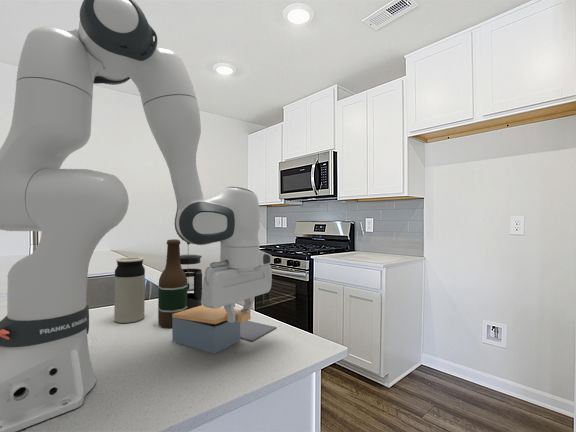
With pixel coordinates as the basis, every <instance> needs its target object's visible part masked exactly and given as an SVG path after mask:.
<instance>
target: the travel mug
mask: <svg viewBox="0 0 576 432" xmlns="http://www.w3.org/2000/svg"><path fill="white" fill-rule="evenodd" d="M144 260H145V258H144V257H140V256H130V257H129V256H125V257H119V258H116V259H115V262H116V265H117V266H116V268H115V270H114V312H113V314H114V319H113V320H114V322H116V323H119V324H131V323H132V324H133V323H136V322H139V321H141V320H143V319H144V318H145V297H146V296H145V292H146V291H145V290H146V289H145V287H146V284H145V279H146V276H145V275H146V269H145V267H144V265H143V264H144V263H143V262H144Z"/></svg>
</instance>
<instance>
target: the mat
mask: <svg viewBox="0 0 576 432" xmlns="http://www.w3.org/2000/svg"><path fill="white" fill-rule="evenodd" d="M276 329H277V326H273V325H270V324H264V323H259V322H255V321H250V320H247V321H245V322H243V323H240V340H243V341H247V342H252V343H253V342H255V341H257V340H259V339H260V338H262V337H264V336H266V335H268V334H269V333H272V332H273V331H275V330H276Z"/></svg>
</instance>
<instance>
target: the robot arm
mask: <svg viewBox="0 0 576 432" xmlns="http://www.w3.org/2000/svg"><path fill="white" fill-rule="evenodd" d="M78 23H79V24H78V29H73V30H65V29H64V30H63V29H61V28H58V27H54V26H38V27H35V28H34V29H31V31H30V32H29V33H28V34H27V35H26V39H25V40H24V43H23V45H22V50H21V52H20V58H19V61H18V67H17V72H16V73H17V74H16V81H15V94H14V104H13V111H12V112H13V113H12V119H11V125H10V128H9V131H8V134H7V136H6V138H5V139H4V142H3V144H2V145H1V147H0V231H6V232H40V233H41V234H40V239H39V242H38V244H37V247H36V248H35V249H34V251H33V252H32V253H30V254H28V255H26V256H25V257H23V258H20V259H19V260H18V261H17V262H15V263H14V264H13V265H12V266H11V267H10V269H9V271H8V274H7V289H6V293H7V294H6V295H7V298H6V299H7V301H6V302H7V306H6V308H7V309H6V312H7V313H6V315H5V317H3V319H1V320H0V432H18V431H20V430H24V429H26V428H28V427H32V426H33V425H36V424H39V423H42V422H43V421H46V420H47V421H48V420H49V419H51V418H54V417H55V418H56V417H57V416H60V415H62V414H65V413H67V412H68V413H69V412H70V411H72V410H75V409H77V408H79V407H81V406H82V405H83V403H84V401H85V397H86V395H87V394H88V393H89V392H90V391H91V390H92V389H93V388H94V387H95V384H96V382H97V378H96V374H95V371H94V368H93V366H92V361H91V355H90V350H89V348H90V347H89V342H88V334H89V331H90V306H89V305H88V304H87V289H88V273H89V267H90V261H91V258H92V256H93V254H94V251H95V249H96V248H97V246H98V245H99V242H101V240H102V239H103V238H104V237H105V236H106V234H108V233H109V232H110V231H112V230H113V229H114V228H116V227H117V226H118V225H119V224H120V223H121V222H122V221H123V220H124V218H125V216H126V215H127V212H128V209H129V203H130V202H129V194H128V191H127V189H126V187H125V184H124V183H123V182H122V181H121V180H120V179H119V177H117V175H114V174H111V173H107V172H102V171H98V170H97V171H96V170H92V169H88V168H86V169H85V168H62V165H63V163H64V162H65V161H66V159H67V158H68V157H69V156H70V155H71V154H73V153H74V152H76V151H78V150H80V149H81V148H83V147H85V146H86V145H87V144H88V142H89V140H90V138H91V135H92V134H91V133H92V131H91V130H92V115H93V99H94V97H93V95H94V94H93V93H94V84H95V85H97V84H100V85H101V84H105V85H110V86H112V85H114V86H115V85H121V84H125V83H126V82H128V81H129V80H131V81H132V82H133V83H134V85H135V86H136V88H137V90H138V92H139V94H140V100H141V104H142V109H143V112H144V115H145V119H146V121H147V124H148V126H149V130H150V131H151V133H152V136H153V138H154V140H155V142H156V144H157V146H158V148H159V151H160V152H161V154H162V156H163V159H164V160H165V161H164V162H165V163H166V165H167V169H168V170H169V175H170V180H171V183H172V187H173V188H172V189H173V192H174V195H175V200H176V212H175V215H174V216H175V217H174V230H175V232H176V234H177V235H178V237H179V238H180V239H181V241H183V242H185V243H186V244H187V243H190V244H192V245H197V246H205V245H210V244H213V243H218V242H219V243H220V254H219V255H220V256H219V258H220V261H212V262H210V264H209V265H208V266H207V268H205V269H204V278H203V280H202V298H201V303H202V305H204V306H205V307H208V308H213V309H216V308H219V307H221V308H225V310H226V312H227V314H228V322H230V323H234V322H236V321H238V314H237V313H235V311H234V309H235V307H236V303H239V302H242V301H244V303H243V307H242V308H241V309H240V310H241V312H246V313H250V314H251V312H252V311H251V310H252V308H253V304H254V303H255V298H256V297H258V296H261V295H264V294H267V293H270V291H271V289H272V282H273V281H272V280H273V276H272V275H273V271H272V270H273V269H272V266H271V264H272V262H273V256H272V254H270V253H267V252H265V251H263V250H260V241H259V230H260V227H261V226H260V225H261V224H260V223H261V222H260V219H261V218H260V203H259V199H258V196H257V195H256V193H255V192H253V191H251V190H250V189H247V188H243V187H237V186H226V187H225V188H224V189H222V190H221V191H219V192H217V193H215V194H214V195H211V196H209V197H207V198H206V197H205V198H204V195H203V189H202V186H201V182H200V177H199V172H198V169H197V153H198V152H197V151H198V146H199V144H200V143H199V142H200V139H201V133H202V131H201V130H202V128H201V125H202V124H201V116H200V108H199V103H198V99H197V96H196V91H195V89H194V86H193V83H192V80H191V78H190V75H189V72H188V71H187V68H186V66H185V64H184V61H183V59H182V58H181V57H180V55H178V53H176V52H175V51H173V50H170V49H168V48H164V47H163V48H162V47H158V35H157V33H156V31H155V30H154V29H153V27H152V26H151V25H150V23H149V22H148V19H147V17H146V16H145V14H144V12H143V10H142V9H141V7H140V6H139V5H138V4H137V2H136V1H135V0H83V1H82V3H81V6H80V8H79V22H78ZM190 244H189V245H190Z"/></svg>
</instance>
